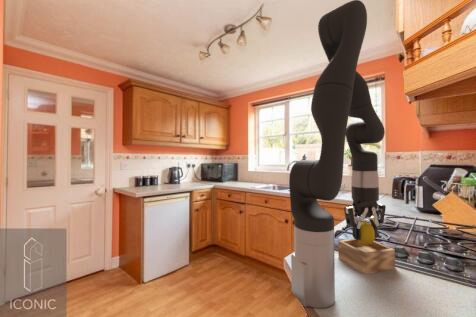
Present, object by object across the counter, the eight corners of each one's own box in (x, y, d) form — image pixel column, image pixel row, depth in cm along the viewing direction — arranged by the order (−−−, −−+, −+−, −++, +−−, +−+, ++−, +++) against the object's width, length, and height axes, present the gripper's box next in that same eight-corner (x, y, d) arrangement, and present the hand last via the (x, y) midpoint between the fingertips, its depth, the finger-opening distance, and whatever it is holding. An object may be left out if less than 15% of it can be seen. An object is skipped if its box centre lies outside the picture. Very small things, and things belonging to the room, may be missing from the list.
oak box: (365, 275, 65) (365, 254, 65) (338, 258, 76) (338, 240, 76) (395, 269, 68) (394, 249, 68) (365, 254, 79) (364, 236, 79)
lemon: (378, 250, 69) (377, 223, 69) (358, 249, 70) (357, 223, 70) (371, 242, 74) (370, 218, 74) (352, 242, 75) (352, 218, 75)
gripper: (354, 187, 66) (355, 245, 66) (393, 185, 70) (394, 240, 70) (337, 184, 73) (337, 236, 74) (373, 182, 77) (374, 232, 77)
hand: (365, 238), depth 72 cm, fingers closed on lemon, 5 cm apart
